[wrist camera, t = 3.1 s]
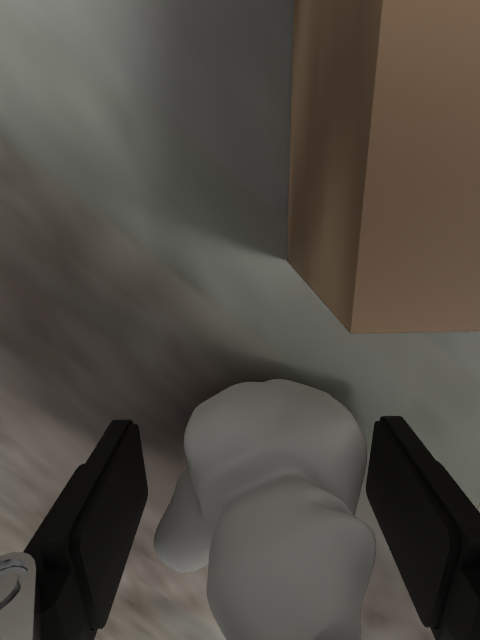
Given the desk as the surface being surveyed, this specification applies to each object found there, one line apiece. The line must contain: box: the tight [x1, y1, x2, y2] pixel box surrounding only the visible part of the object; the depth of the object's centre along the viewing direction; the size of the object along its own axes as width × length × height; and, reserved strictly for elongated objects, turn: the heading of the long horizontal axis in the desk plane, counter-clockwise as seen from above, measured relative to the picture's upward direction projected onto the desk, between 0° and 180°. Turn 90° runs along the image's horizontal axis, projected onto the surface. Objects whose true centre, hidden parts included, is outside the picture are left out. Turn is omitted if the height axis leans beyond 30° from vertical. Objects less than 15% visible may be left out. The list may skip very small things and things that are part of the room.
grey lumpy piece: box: [154, 379, 376, 640], centre depth 8 cm, size 5×7×8 cm
